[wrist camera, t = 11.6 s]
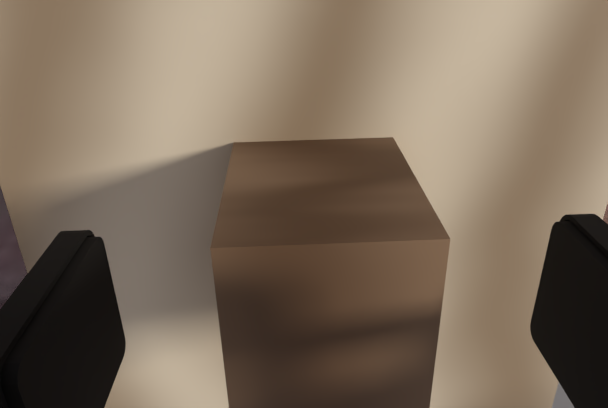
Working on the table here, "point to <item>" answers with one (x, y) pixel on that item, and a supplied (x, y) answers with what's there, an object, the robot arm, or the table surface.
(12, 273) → the table surface
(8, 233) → the table surface
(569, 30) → the cover
